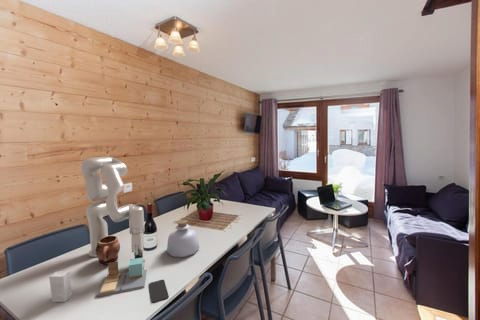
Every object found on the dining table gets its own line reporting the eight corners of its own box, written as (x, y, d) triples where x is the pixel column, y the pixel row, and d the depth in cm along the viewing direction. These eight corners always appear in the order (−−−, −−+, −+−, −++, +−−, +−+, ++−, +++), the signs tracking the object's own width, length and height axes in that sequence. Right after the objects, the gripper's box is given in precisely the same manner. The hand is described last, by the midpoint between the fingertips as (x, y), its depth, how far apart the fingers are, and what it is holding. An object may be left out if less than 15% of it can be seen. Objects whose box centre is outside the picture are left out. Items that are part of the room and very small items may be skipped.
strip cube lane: (133, 262, 129) (132, 251, 128) (145, 260, 131) (144, 249, 130) (129, 278, 115) (128, 265, 114) (142, 276, 117) (141, 263, 116)
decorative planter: (120, 268, 126) (118, 244, 124) (93, 274, 121) (91, 249, 119) (121, 252, 144) (120, 230, 142) (99, 256, 139) (97, 234, 137)
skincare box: (72, 295, 105) (70, 270, 104) (65, 302, 101) (63, 276, 99) (58, 295, 105) (56, 271, 103) (51, 302, 100) (48, 276, 99)
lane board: (104, 278, 117) (104, 274, 117) (146, 271, 123) (146, 267, 123) (96, 296, 104) (96, 292, 103) (144, 287, 110) (144, 283, 109)
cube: (131, 270, 120) (130, 259, 120) (143, 268, 122) (142, 257, 122) (129, 276, 115) (128, 265, 114) (142, 274, 117) (141, 263, 116)
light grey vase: (202, 243, 154) (202, 216, 152) (194, 258, 135) (193, 228, 133) (174, 242, 156) (173, 215, 154) (161, 257, 137) (160, 227, 135)
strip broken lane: (107, 275, 117) (106, 263, 117) (120, 273, 119) (119, 261, 118) (104, 284, 111) (103, 270, 110) (118, 281, 112) (117, 268, 112)
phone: (164, 278, 116) (169, 297, 102) (164, 280, 116) (169, 298, 102) (148, 283, 112) (151, 302, 99) (148, 284, 112) (151, 304, 99)
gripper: (131, 224, 133) (133, 254, 135) (127, 236, 118) (129, 269, 120) (145, 223, 136) (147, 252, 138) (142, 234, 120) (144, 267, 122)
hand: (139, 260), depth 129 cm, fingers open, 3 cm apart
